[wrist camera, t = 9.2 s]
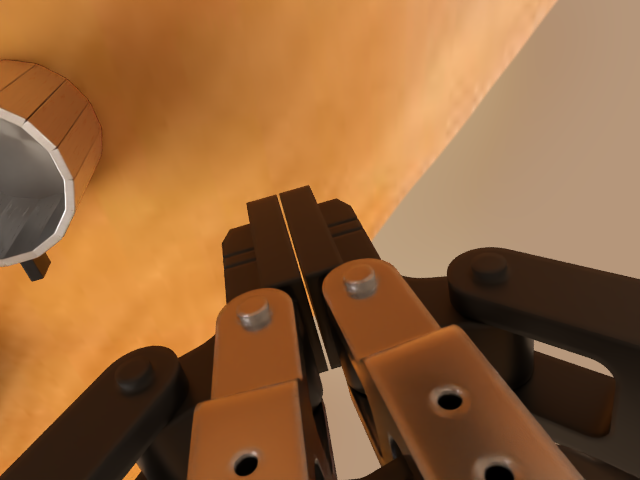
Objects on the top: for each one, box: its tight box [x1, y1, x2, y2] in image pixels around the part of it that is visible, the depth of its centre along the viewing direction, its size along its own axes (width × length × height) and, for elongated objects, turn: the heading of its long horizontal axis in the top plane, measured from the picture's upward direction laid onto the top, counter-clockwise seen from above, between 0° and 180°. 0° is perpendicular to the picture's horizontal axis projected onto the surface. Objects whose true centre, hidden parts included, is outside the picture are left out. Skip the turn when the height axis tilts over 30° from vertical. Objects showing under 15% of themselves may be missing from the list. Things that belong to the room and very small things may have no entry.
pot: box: [0, 60, 102, 281], centre depth 30 cm, size 9×12×9 cm
